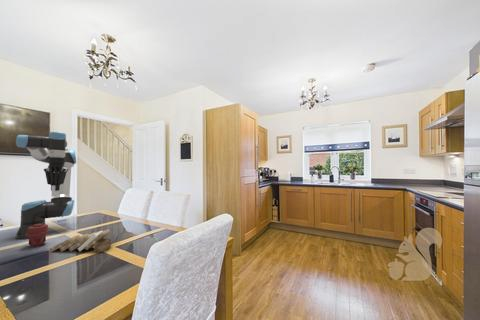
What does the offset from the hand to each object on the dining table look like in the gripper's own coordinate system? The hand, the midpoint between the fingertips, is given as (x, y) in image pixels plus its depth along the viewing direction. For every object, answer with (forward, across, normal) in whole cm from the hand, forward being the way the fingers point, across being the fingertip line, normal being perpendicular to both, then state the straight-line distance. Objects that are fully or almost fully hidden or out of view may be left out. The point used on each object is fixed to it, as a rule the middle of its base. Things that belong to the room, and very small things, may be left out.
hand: (54, 196), depth 115 cm
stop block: (+29, +34, -6) cm, 45 cm away
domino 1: (+28, +8, -6) cm, 30 cm away
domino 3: (+28, +18, -6) cm, 34 cm away
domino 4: (+28, +23, -6) cm, 37 cm away
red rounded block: (+30, -9, 0) cm, 31 cm away
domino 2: (+28, +13, -6) cm, 32 cm away
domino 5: (+28, +27, -6) cm, 39 cm away
